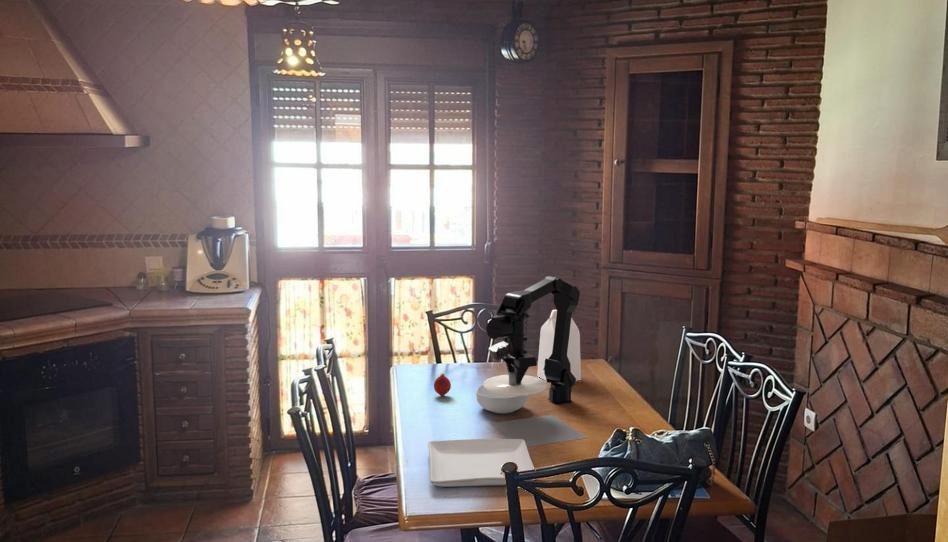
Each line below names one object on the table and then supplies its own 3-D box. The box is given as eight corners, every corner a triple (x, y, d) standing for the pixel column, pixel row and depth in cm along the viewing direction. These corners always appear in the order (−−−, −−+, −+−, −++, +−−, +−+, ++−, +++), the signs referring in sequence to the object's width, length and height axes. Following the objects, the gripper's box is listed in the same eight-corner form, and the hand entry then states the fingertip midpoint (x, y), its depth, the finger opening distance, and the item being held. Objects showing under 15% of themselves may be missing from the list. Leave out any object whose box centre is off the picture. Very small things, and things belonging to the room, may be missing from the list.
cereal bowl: (495, 399, 278) (495, 379, 277) (537, 408, 268) (537, 387, 267) (465, 412, 264) (465, 391, 263) (508, 422, 255) (509, 400, 254)
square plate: (427, 452, 231) (427, 439, 231) (524, 450, 233) (524, 437, 233) (429, 493, 204) (429, 478, 204) (538, 490, 206) (538, 476, 206)
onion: (448, 399, 277) (448, 376, 276) (432, 398, 279) (431, 375, 277) (452, 394, 283) (452, 371, 282) (436, 393, 284) (436, 370, 283)
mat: (553, 415, 261) (553, 414, 261) (587, 439, 241) (587, 437, 241) (489, 424, 253) (489, 423, 253) (520, 449, 233) (520, 447, 233)
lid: (528, 373, 271) (528, 361, 270) (558, 391, 253) (558, 377, 252) (473, 381, 263) (473, 368, 262) (500, 399, 245) (500, 385, 244)
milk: (565, 373, 310) (566, 305, 305) (580, 381, 299) (582, 311, 295) (536, 376, 305) (538, 308, 301) (552, 385, 294) (553, 314, 290)
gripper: (479, 329, 260) (479, 377, 263) (505, 343, 243) (505, 393, 246) (511, 326, 265) (510, 372, 267) (538, 339, 248) (537, 388, 250)
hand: (515, 381), depth 258 cm, fingers closed on lid, 4 cm apart
